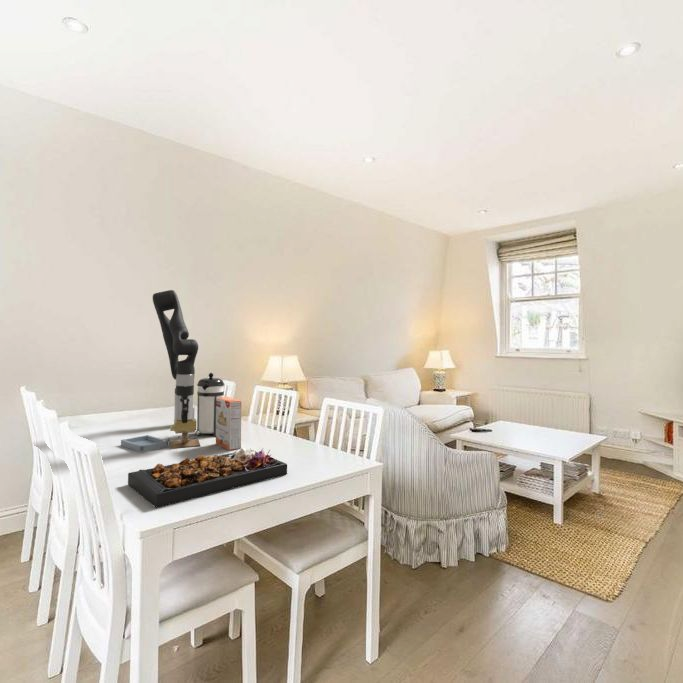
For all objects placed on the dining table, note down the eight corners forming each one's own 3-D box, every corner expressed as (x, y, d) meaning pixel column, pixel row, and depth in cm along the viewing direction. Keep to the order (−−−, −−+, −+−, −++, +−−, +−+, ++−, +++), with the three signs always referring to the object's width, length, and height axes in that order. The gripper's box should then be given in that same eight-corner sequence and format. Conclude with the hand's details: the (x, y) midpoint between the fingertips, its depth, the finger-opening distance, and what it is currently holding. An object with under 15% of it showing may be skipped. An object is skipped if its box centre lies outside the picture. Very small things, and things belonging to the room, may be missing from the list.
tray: (120, 445, 184) (120, 439, 184) (147, 440, 194) (147, 435, 194) (141, 452, 174) (141, 446, 174) (168, 446, 184) (168, 441, 184)
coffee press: (232, 435, 207) (233, 373, 207) (199, 439, 198) (200, 374, 198) (220, 428, 222) (221, 370, 221) (189, 431, 213) (190, 371, 212)
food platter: (249, 460, 168) (250, 434, 168) (286, 476, 150) (287, 447, 150) (127, 486, 137) (128, 454, 137) (156, 510, 119) (156, 473, 119)
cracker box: (214, 444, 190) (215, 397, 190) (227, 442, 194) (228, 396, 193) (228, 450, 179) (228, 401, 179) (241, 448, 183) (242, 400, 183)
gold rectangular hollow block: (195, 427, 193) (195, 418, 193) (196, 430, 187) (196, 421, 187) (170, 429, 189) (170, 420, 189) (170, 431, 183) (170, 422, 183)
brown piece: (197, 439, 196) (198, 425, 196) (200, 446, 185) (200, 431, 185) (169, 442, 192) (170, 427, 192) (170, 448, 181) (170, 433, 181)
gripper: (175, 382, 193) (174, 418, 193) (176, 386, 180) (175, 424, 180) (192, 382, 196) (192, 417, 196) (195, 385, 183) (194, 423, 183)
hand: (184, 420), depth 188 cm, fingers open, 8 cm apart
